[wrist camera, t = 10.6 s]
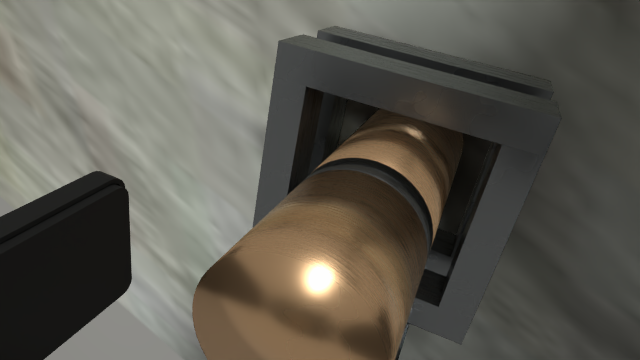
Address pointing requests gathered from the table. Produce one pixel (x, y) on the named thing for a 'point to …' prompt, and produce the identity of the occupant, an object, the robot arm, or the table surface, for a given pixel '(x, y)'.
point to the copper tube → (335, 252)
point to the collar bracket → (426, 105)
